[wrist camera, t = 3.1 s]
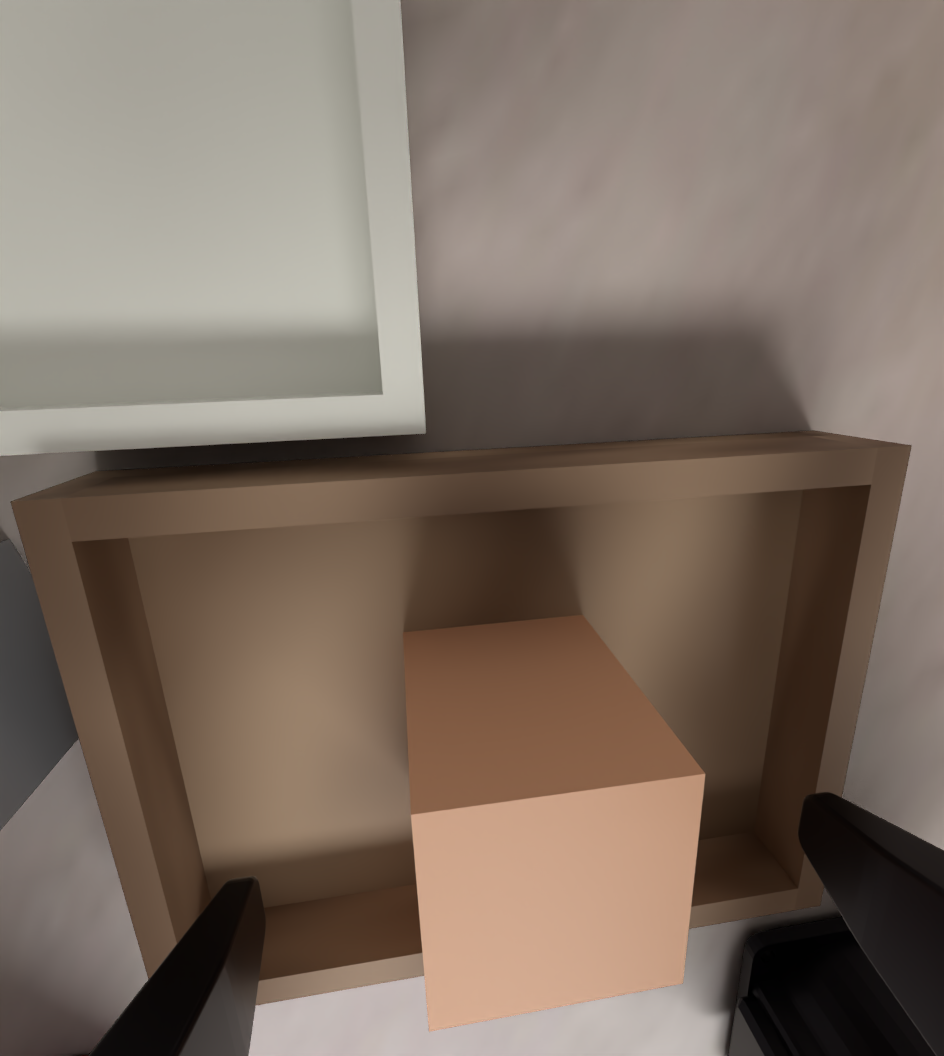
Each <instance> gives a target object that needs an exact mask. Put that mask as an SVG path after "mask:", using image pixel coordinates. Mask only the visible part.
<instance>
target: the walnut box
mask: <svg viewBox="0 0 944 1056" xmlns="http://www.w3.org/2000/svg"><path fill="white" fill-rule="evenodd" d="M910 451H911V445H905V444H898V443H892V442H885V441H879V440H872V439H866V438H859V437H852V436H846V435H839V434H833V433H826V432H820V431H796V432H779V433H761V434H744V435H726V436H709V437H691V438H673V439H656V440H638V441H621V442H603V443H586V444H568V445H551V446H533V447H515V448H498V449H480V450H463V451H445V452H428V453H410V454H393V455H375V456H358V457H340V458H322V459H305V460H287V461H270V462H252V463H235V464H217V465H200V466H182V467H165V468H147V469H129V470H112V471H95V472H92V473H90V474H87V475H84V476H81V477H78V478H76V479H73V480H70V481H67V482H64V483H61V484H59V485H56V486H53V487H50V488H47V489H45V490H42V491H39V492H36V493H33V494H31V495H28V496H25V497H22V498H19V499H16V500H14V501H11V505H12V509H13V512H14V516H15V519H16V522H17V526H18V529H19V533H20V536H21V540H22V543H23V547H24V550H25V554H26V557H27V560H28V564H29V567H30V571H31V574H32V578H33V581H34V585H35V588H36V592H37V595H38V598H39V602H40V605H41V609H42V612H43V616H44V619H45V623H46V626H47V630H48V633H49V636H50V640H51V643H52V647H53V650H54V654H55V657H56V661H57V664H58V668H59V671H60V674H61V678H62V681H63V685H64V688H65V692H66V695H67V699H68V702H69V706H70V709H71V712H72V716H73V719H74V723H75V726H76V730H77V733H78V737H79V740H80V744H81V747H82V750H83V754H84V757H85V761H86V764H87V768H88V771H89V775H90V778H91V782H92V785H93V788H94V792H95V795H96V799H97V802H98V806H99V809H100V813H101V816H102V820H103V823H104V826H105V830H106V833H107V837H108V840H109V844H110V847H111V851H112V854H113V858H114V861H115V864H116V868H117V871H118V875H119V878H120V882H121V885H122V889H123V892H124V896H125V899H126V902H127V906H128V909H129V913H130V916H131V920H132V923H133V927H134V930H135V934H136V937H137V940H138V944H139V947H140V951H141V954H142V958H143V961H144V965H145V968H146V972H147V975H148V978H150V977H151V976H152V975H153V973H154V972H155V971H156V970H157V968H158V967H159V966H160V965H161V963H162V962H163V961H164V959H165V958H166V957H167V956H168V954H169V953H170V952H171V951H172V949H173V948H174V947H175V946H176V944H177V943H178V942H179V940H180V939H181V938H182V937H183V935H184V934H185V933H186V932H187V930H188V929H189V928H190V926H191V925H192V924H193V923H194V921H195V920H196V919H197V918H198V916H199V915H200V914H201V913H202V911H203V910H204V909H205V907H206V906H207V905H208V904H209V902H210V901H211V900H212V899H213V897H214V896H215V895H216V894H217V892H218V891H219V890H220V888H221V887H222V886H223V885H224V884H225V883H226V882H227V881H228V880H230V879H233V878H239V877H246V876H255V877H257V879H258V881H259V885H260V890H261V895H262V900H263V905H264V911H265V917H266V930H265V939H264V946H263V953H262V961H261V968H260V975H259V983H258V990H257V997H256V1005H261V1004H266V1003H272V1002H278V1001H283V1000H289V999H295V998H300V997H306V996H312V995H317V994H323V993H329V992H334V991H340V990H346V989H351V988H357V987H363V986H368V985H374V984H380V983H385V982H391V981H397V980H402V979H408V978H414V977H419V976H424V965H423V953H422V941H421V929H420V917H419V906H418V894H417V882H416V870H415V858H414V846H413V835H412V823H411V807H410V784H409V761H408V738H407V715H406V692H405V668H404V645H403V632H411V631H422V630H432V629H442V628H452V627H463V626H473V625H483V624H493V623H504V622H514V621H524V620H534V619H545V618H555V617H565V616H575V615H583V616H584V617H585V618H586V619H587V621H588V622H589V623H590V625H591V626H592V627H593V629H594V630H595V631H596V632H597V634H598V635H599V636H600V638H601V639H602V640H603V642H604V643H605V644H606V645H607V647H608V648H609V649H610V651H611V652H612V653H613V654H614V656H615V657H616V658H617V660H618V661H619V662H620V664H621V665H622V666H623V667H624V669H625V670H626V671H627V673H628V674H629V675H630V677H631V678H632V679H633V680H634V682H635V683H636V684H637V686H638V687H639V688H640V690H641V691H642V692H643V693H644V695H645V696H646V697H647V699H648V700H649V701H650V703H651V704H652V705H653V706H654V708H655V709H656V710H657V712H658V713H659V714H660V715H661V717H662V718H663V719H664V721H665V722H666V723H667V725H668V726H669V727H670V728H671V730H672V731H673V732H674V734H675V735H676V736H677V738H678V739H679V740H680V741H681V743H682V744H683V745H684V747H685V748H686V749H687V751H688V752H689V753H690V754H691V756H692V757H693V758H694V760H695V761H696V762H697V764H698V765H699V766H700V767H701V769H702V770H703V771H704V773H705V782H704V792H703V801H702V810H701V820H700V829H699V838H698V848H697V857H696V866H695V875H694V885H693V894H692V903H691V913H690V922H689V929H691V928H697V927H703V926H708V925H714V924H720V923H725V922H731V921H737V920H742V919H748V918H754V917H759V916H765V915H771V914H776V913H782V912H788V911H793V910H799V909H804V908H810V907H816V906H820V904H821V899H822V894H823V889H824V885H823V883H822V882H821V880H820V878H819V877H818V875H817V873H816V871H815V870H814V868H813V866H812V865H811V863H810V861H809V860H808V858H807V856H806V855H805V853H804V851H803V849H802V847H801V845H800V842H799V838H798V827H799V821H800V815H801V809H802V804H803V800H804V798H805V797H806V796H807V795H809V794H816V793H823V792H830V793H833V794H835V795H837V796H839V797H841V798H842V793H843V788H844V783H845V778H846V773H847V768H848V763H849V758H850V753H851V748H852V743H853V738H854V733H855V728H856V723H857V718H858V713H859V708H860V703H861V698H862V693H863V688H864V682H865V677H866V672H867V667H868V662H869V657H870V652H871V647H872V642H873V637H874V632H875V627H876V622H877V617H878V612H879V607H880V602H881V597H882V592H883V587H884V582H885V577H886V572H887V567H888V562H889V557H890V551H891V546H892V541H893V536H894V531H895V526H896V521H897V516H898V511H899V506H900V501H901V496H902V491H903V486H904V481H905V476H906V471H907V466H908V461H909V456H910Z"/></svg>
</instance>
